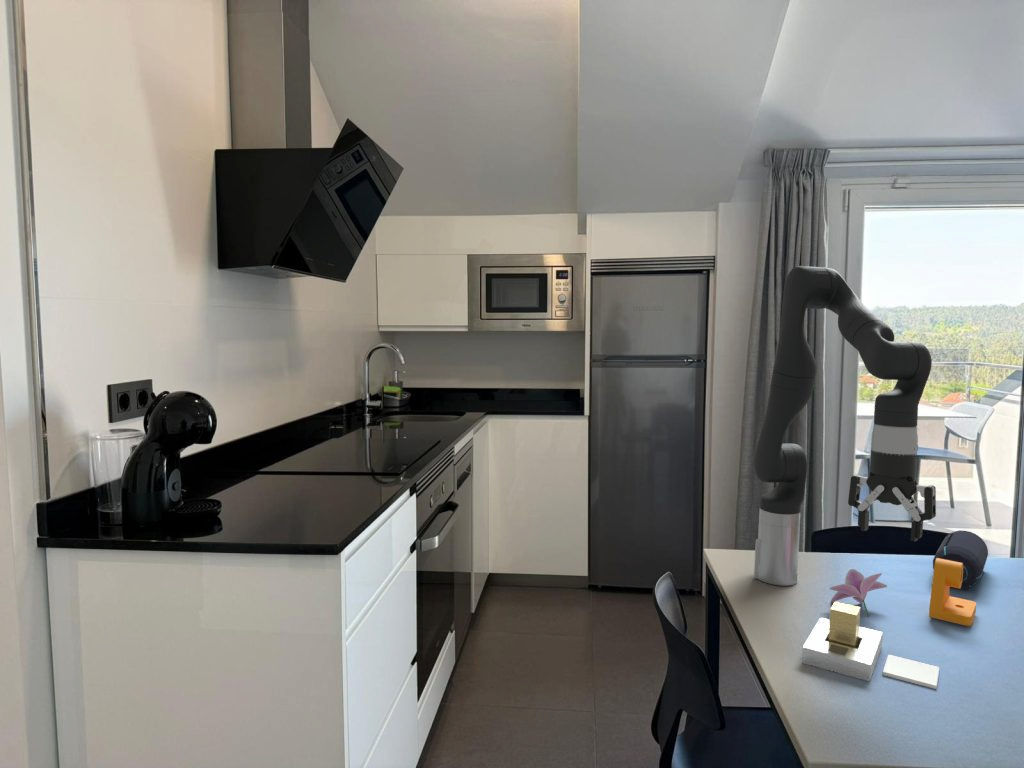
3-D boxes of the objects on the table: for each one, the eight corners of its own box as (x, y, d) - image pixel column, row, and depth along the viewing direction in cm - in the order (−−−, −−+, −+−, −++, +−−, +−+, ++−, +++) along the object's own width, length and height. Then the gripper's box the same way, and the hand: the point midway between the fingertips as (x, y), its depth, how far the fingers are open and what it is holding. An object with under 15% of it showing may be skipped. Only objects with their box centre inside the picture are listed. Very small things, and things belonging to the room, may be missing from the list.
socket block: (801, 662, 123) (802, 645, 122) (819, 631, 136) (820, 616, 136) (869, 681, 116) (870, 663, 116) (881, 647, 129) (882, 631, 129)
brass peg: (827, 656, 126) (830, 609, 125) (832, 647, 129) (834, 601, 128) (854, 663, 123) (856, 615, 122) (857, 654, 127) (860, 607, 126)
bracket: (969, 630, 138) (973, 572, 137) (928, 620, 143) (932, 564, 142) (976, 614, 146) (979, 559, 145) (937, 605, 151) (940, 552, 150)
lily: (896, 614, 148) (881, 570, 152) (898, 611, 138) (882, 563, 142) (837, 622, 152) (824, 579, 156) (835, 620, 142) (821, 573, 146)
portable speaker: (942, 560, 182) (945, 523, 181) (988, 569, 175) (990, 531, 175) (929, 586, 162) (931, 545, 161) (979, 597, 156) (982, 555, 155)
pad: (882, 674, 119) (882, 671, 119) (888, 657, 125) (888, 654, 125) (936, 689, 114) (936, 685, 114) (939, 670, 121) (939, 667, 121)
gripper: (845, 446, 128) (841, 530, 129) (931, 456, 118) (926, 548, 119) (860, 442, 134) (855, 523, 135) (943, 452, 123) (938, 539, 125)
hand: (889, 535), depth 127 cm, fingers open, 8 cm apart
